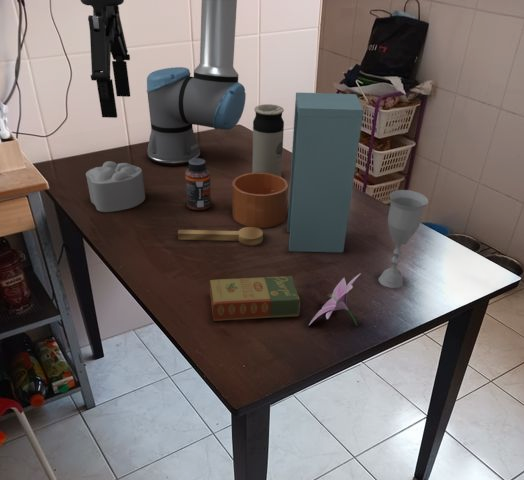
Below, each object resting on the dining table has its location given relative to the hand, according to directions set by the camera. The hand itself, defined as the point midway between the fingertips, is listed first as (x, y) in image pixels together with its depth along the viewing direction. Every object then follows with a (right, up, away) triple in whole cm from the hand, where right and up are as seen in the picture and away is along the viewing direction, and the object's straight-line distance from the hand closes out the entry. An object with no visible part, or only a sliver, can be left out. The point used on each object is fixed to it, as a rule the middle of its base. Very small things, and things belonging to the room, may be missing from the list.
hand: (117, 106), depth 108 cm
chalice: (+55, -34, +3) cm, 65 cm away
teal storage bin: (+41, -24, +15) cm, 50 cm away
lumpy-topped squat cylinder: (-7, -11, +28) cm, 31 cm away
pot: (+28, -16, +24) cm, 40 cm away
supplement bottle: (+13, -13, +27) cm, 33 cm away
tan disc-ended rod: (+19, -23, +15) cm, 34 cm away
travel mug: (+30, -1, +42) cm, 51 cm away
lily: (+42, -43, -7) cm, 61 cm away
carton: (+27, -40, -5) cm, 49 cm away
